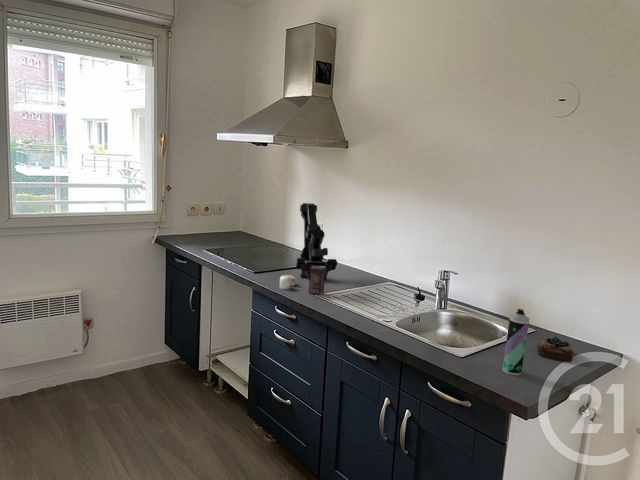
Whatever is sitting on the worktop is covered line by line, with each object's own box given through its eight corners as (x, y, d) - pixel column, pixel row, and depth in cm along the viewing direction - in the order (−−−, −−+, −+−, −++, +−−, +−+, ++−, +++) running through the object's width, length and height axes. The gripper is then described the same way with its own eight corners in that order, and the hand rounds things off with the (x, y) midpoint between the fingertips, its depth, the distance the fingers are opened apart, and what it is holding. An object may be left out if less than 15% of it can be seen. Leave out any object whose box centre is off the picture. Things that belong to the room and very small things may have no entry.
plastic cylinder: (279, 286, 227) (279, 276, 226) (289, 286, 228) (290, 276, 227) (279, 289, 222) (280, 278, 221) (290, 289, 223) (291, 279, 222)
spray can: (500, 367, 151) (508, 305, 148) (518, 368, 151) (527, 307, 148) (505, 374, 146) (514, 311, 143) (523, 376, 146) (533, 313, 142)
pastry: (538, 357, 162) (540, 341, 161) (535, 345, 173) (538, 330, 172) (574, 364, 158) (577, 347, 157) (569, 351, 170) (572, 336, 169)
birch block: (281, 283, 233) (282, 275, 232) (291, 283, 235) (291, 275, 234) (284, 286, 228) (285, 277, 228) (294, 285, 230) (295, 277, 230)
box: (323, 293, 221) (325, 267, 219) (320, 295, 216) (321, 269, 214) (312, 290, 223) (313, 265, 221) (307, 293, 219) (309, 267, 217)
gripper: (297, 240, 218) (299, 270, 209) (338, 242, 221) (341, 271, 212) (294, 254, 227) (296, 282, 218) (333, 255, 230) (336, 283, 221)
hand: (317, 279), depth 217 cm, fingers closed on box, 7 cm apart
